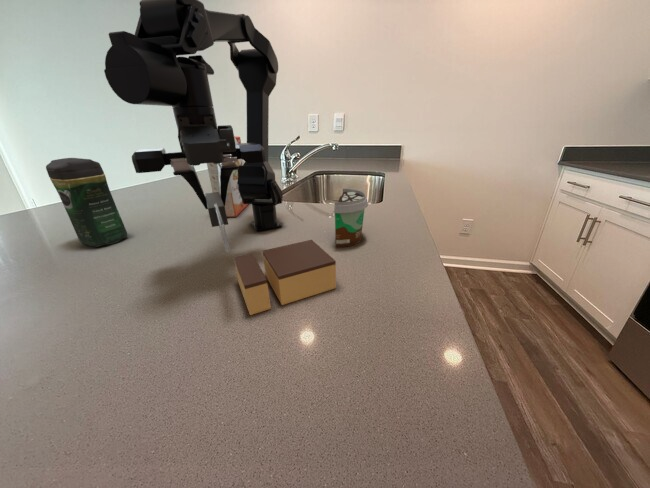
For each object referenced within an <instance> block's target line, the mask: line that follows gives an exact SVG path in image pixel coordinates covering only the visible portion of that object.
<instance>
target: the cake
mask: <svg viewBox="0 0 650 488" xmlns="http://www.w3.org/2000/svg"><path fill="white" fill-rule="evenodd" d="M261 252H262V259H263V266H264V274H265V277H266V279H267V282H269V284H270V286H271V288H272V290H273V291H274V294H275V295H276V297H277V299H278V301H279V303H280V305H281V306H284V305H288V304H290V303H294V302H297V301H300V300H303V299H306V298H309V297H313V296H316V295H319V294H322V293H325V292H328V291H331V290H334V289H336V288H337V267H336V266H337V265H336V263H337V261H336V259H334V258H333V257H332V256H330V254H328V253H327V252H326V251H325V250H324V249H323V248H322V247H320V245H318V244H317V242H315V241H314V240H313V239H307V240H303V241H300V242H299V241H298V242H295V243H290V244H286V245H281V246H277V247H276V246H275V247H272V248H267V249H264V250H262V251H261Z"/></svg>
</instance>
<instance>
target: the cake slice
mask: <svg viewBox="0 0 650 488" xmlns="http://www.w3.org/2000/svg"><path fill="white" fill-rule="evenodd" d="M233 261H234V267H235V272H236V276H237V281H238V285H239V288H240V291H241V294H242V296H243V301H244V302H245V305H246V308H247V311H248V313H249V315H250V316H252V315H255V314H259V313H262V312H264V311H268V310H272V306H271V298H270V291H269V285H268V279H267V277H266V274H265V272H264V271H263V270H262V268H261V266H260V264H259V262H258V261H257V258H256V256H255V255H254V253H253V252H249V253H245V254H241V255H237V256H233Z"/></svg>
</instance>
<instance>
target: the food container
mask: <svg viewBox="0 0 650 488" xmlns="http://www.w3.org/2000/svg"><path fill="white" fill-rule="evenodd" d="M368 206H369V201H368V197H367V196H366V193H365V192H364V191H362V190H358V189H353V188H342V193H341V195H340V196H339V198H338V201H335V202H334V208H333V209H334V211H333V214H334V228H335V229H334V230H335V247H336V248H344V247H345V248H346V247H351V246H355V245H357V244H358V243H360V242H361V240H362V233H363V227H364V226H363V225H364V218H365V217H364V216H365V209H366V208H368Z"/></svg>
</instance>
